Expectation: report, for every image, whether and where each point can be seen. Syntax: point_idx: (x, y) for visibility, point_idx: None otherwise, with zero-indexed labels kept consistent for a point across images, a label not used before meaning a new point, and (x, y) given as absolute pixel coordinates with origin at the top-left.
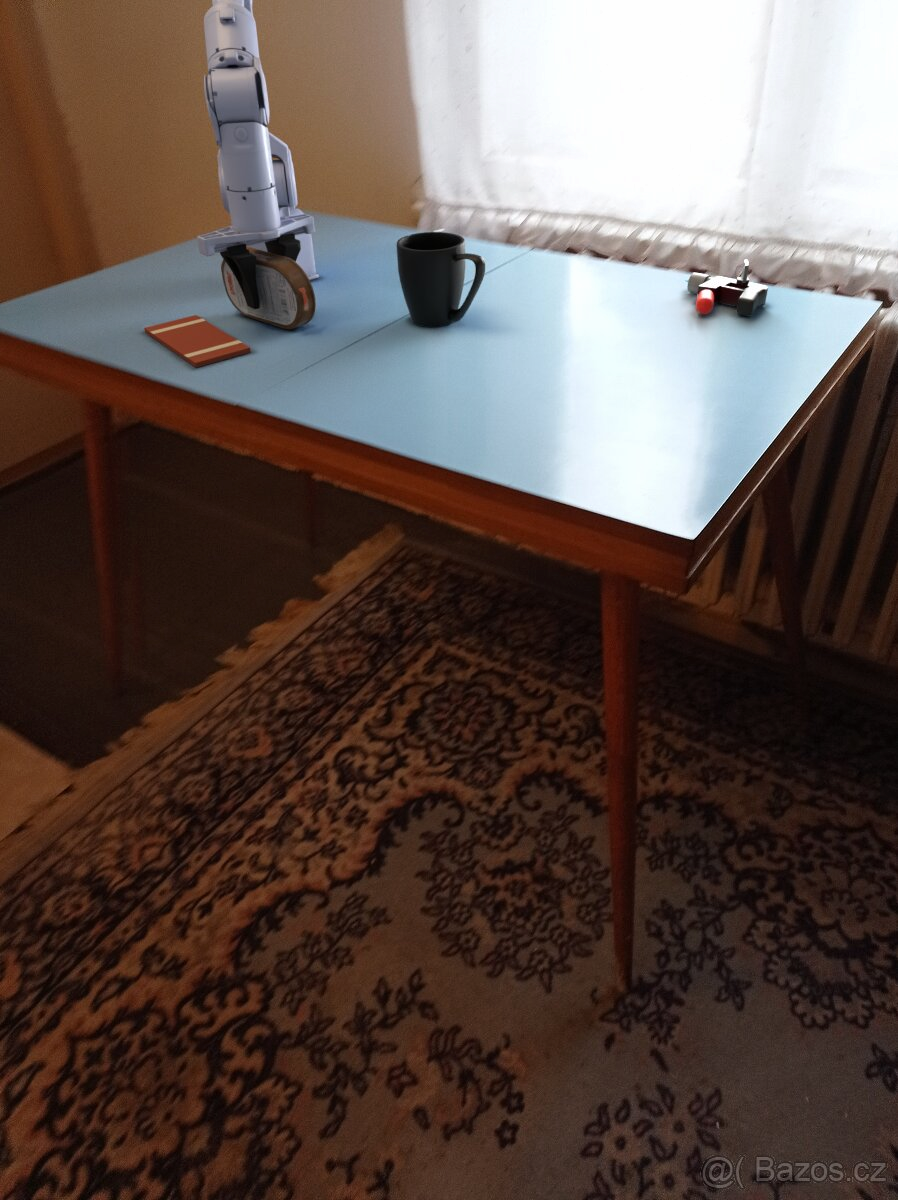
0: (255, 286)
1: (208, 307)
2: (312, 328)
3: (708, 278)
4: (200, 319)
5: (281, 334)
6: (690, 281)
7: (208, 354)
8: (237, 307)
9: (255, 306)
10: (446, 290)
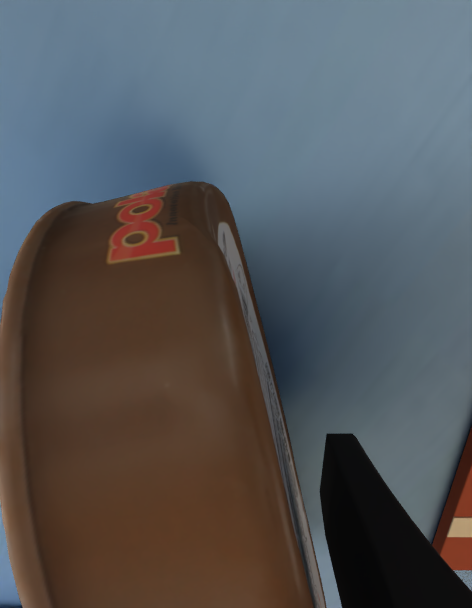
0: (378, 534)
1: (332, 602)
2: None
3: None
4: (460, 533)
5: (293, 250)
6: None
7: None
8: (311, 539)
9: (357, 441)
10: None
